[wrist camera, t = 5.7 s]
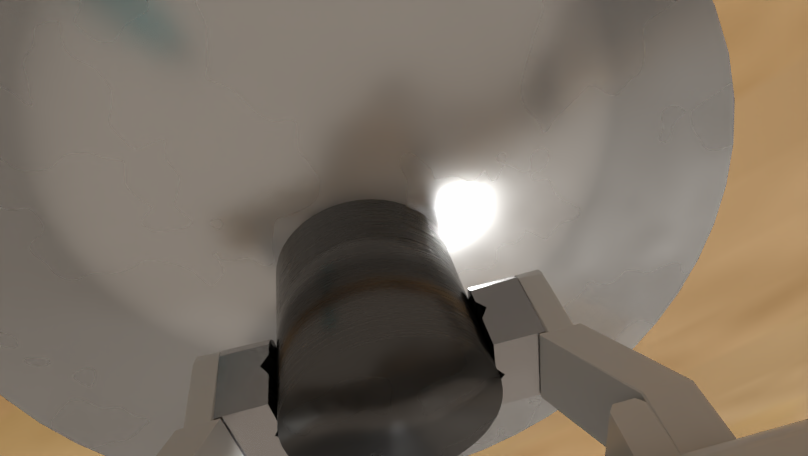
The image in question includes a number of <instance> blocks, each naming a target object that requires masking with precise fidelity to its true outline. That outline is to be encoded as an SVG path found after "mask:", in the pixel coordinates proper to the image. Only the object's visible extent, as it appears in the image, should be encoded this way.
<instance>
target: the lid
mask: <svg viewBox="0 0 808 456" xmlns="http://www.w3.org/2000/svg"><path fill="white" fill-rule="evenodd" d="M733 135H734V91H733V83H732V75H731V67H730V59H729V52H728V49H727V46H726V42H725V39H724V35H723V32H722V29H721V25H720V22H719V18H718V15H717V12H716V8H715V5H714V3H713V1H712V0H0V395H2V396H3V397H4V398H5V399H7V400H8V401H10V402H11V403H12V404H14V405H15V406H17V407H18V408H19V409H21V410H22V411H24V412H25V413H27V414H28V415H29V416H31V417H32V418H34V419H35V420H36V421H38V422H39V423H41V424H43V425H45V426H46V427H48V428H50V429H52V430H54V431H55V432H57V433H59V434H61V435H63V436H64V437H66V438H68V439H70V440H72V441H73V442H75V443H77V444H79V445H82V446H84V447H86V448H89V449H91V450H93V451H96V452H98V453H100V454H103V455H105V456H156V455H157V454H158V453H159V451H160V450H161V449H162V447H163V446H164V445H165V444H166V442H167V441H168V440H169V438H170V437H171V436H172V434H173V433H174V432H175V431H176V430H178V429H181V428H183V427H184V421H185V414H186V407H187V401H188V394H189V387H190V381H191V374H192V367H193V363H194V362H195V360H196V358H197V357H199V356H204V355H208V354H212V353H217V352H221V351H223V350H227V349H232V348H236V347H240V346H244V345H249V344H253V343H257V342H262V341H266V340H274V342H275V344H276V346H277V430H278V437H279V440H280V443H281V445H282V447H283V449H284V450H285V452H286V454H287V455H288V456H468V455H471V454H473V453H476V452H478V451H481V450H484V449H486V448H488V447H490V446H492V445H494V444H496V443H499V442H501V441H503V440H505V439H507V438H509V437H511V436H514V435H516V434H518V433H519V432H521V431H523V430H525V429H526V428H528V427H530V426H532V425H534V424H535V423H537V422H539V421H541V420H543V419H544V418H546V417H548V416H549V415H551V414H552V413H554V412H555V411H557V409H556V408H555V407H554V406H552V405H551V404H550V403H548V402H547V401H546V400H544V399H543V398H542V397H541V395H538V396H533V397H529V398H525V399H521V400H517V401H513V402H509V403H504V404H501V403H502V399H503V386H502V381H501V378H500V376H499V373H498V371H497V368H496V366H495V363H494V361H493V358H492V356H491V354H490V351H489V349H488V346H487V344H486V341H485V339H484V337H483V334H482V332H481V329H480V327H479V324H478V322H477V319H476V317H475V315H474V312H473V310H472V307H471V305H470V302H469V300H468V288H470V287H474V286H478V285H481V284H485V283H489V282H493V281H496V280H500V279H504V278H508V277H511V276H515V275H519V274H522V273H526V272H530V271H533V270H537V269H538V270H540V271H541V272H542V273H543V275H544V276H545V278H546V280H547V281H548V283H549V284H550V286H551V288H552V289H553V291H554V293H555V294H556V296H557V298H558V299H559V301H560V303H561V304H562V306H563V308H564V309H565V311H566V312H567V314H568V316H569V317H570V319H571V321H572V322H573V324H574V325H575V324H580V323H582V324H584V325H586V326H588V327H590V328H591V329H593V330H595V331H597V332H599V333H601V334H603V335H605V336H607V337H609V338H611V339H613V340H615V341H617V342H619V343H621V344H623V345H624V346H626V347H628V348H630V349H633V348H634V347H635V346H636V345H637V344H638V342H639V341H640V340H641V339H642V338H643V337H644V336H645V335H646V334H647V332H648V331H649V330H650V329H651V328H652V327H653V326H654V325H655V324H656V322H657V321H658V320H659V318H660V317H661V316H662V314H663V313H664V311H665V310H666V309H667V307H668V306H669V305H670V303H671V302H672V301H673V299H674V298H675V297H676V295H677V294H678V292H679V291H680V289H681V287H682V286H683V284H684V282H685V281H686V279H687V277H688V276H689V274H690V272H691V270H692V269H693V267H694V265H695V264H696V262H697V260H698V258H699V256H700V254H701V252H702V249H703V247H704V245H705V243H706V241H707V238H708V236H709V234H710V232H711V229H712V227H713V225H714V222H715V219H716V216H717V213H718V209H719V206H720V203H721V200H722V197H723V193H724V190H725V187H726V183H727V177H728V171H729V165H730V159H731V154H732V148H733Z"/></svg>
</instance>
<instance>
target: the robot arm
mask: <svg viewBox="0 0 808 456" xmlns="http://www.w3.org/2000/svg"><path fill="white" fill-rule="evenodd" d="M468 300H469V302H470V305H471V307H472V310H473V312H474V315H475V317H476V319H477V322H478V324H479V327H480V329H481V332H482V334H483V337H484V339H485V341H486V344H487V346H488V349H489V351H490V354H491V356H492V358H493V361H494V363H495V366H496V368H497V371H498V373H499V376H500V378H501V381H502V386H503V399H502V403H501V404H504V403H509V402H513V401H517V400H521V399H525V398H529V397H533V396H538V395H541V397H542V398H543V399H544V400H546V401H547V402H548V403H550V404H551V405H552V406H554V407H555V408H556V409H557V410H559V411H560V412H561V413H563V414H564V415H565V416H566V417H568V418H569V419H570V420H572V421H573V422H574V423H576V424H577V425H578V426H579V427H581V428H582V429H583V430H585V431H586V432H587V433H589V434H590V435H591V436H592V437H594V438H595V439H596V440H598V441H599V442H600V443H601V444H603V445H604V446H605V447H606V452H605V456H808V419H806V420H802V421H799V422H795V423H791V424H788V425H784V426H781V427H777V428H773V429H770V430H766V431H763V432H759V433H756V434H752V435H748V436H745V437H741V438H738V439H736V437H735V436H734V435H733V433H732V432H731V431H730V429H729V428H728V427H727V425H726V424H725V423H724V421H723V420H722V419H721V417H720V416H719V415H718V413H717V412H716V411H715V409H714V408H713V407H712V406H711V404H710V403H709V402H708V400H707V399H706V398H705V396H704V395H703V394H702V392H701V391H700V390H699V388H698V387H697V386H696V384H695V383H694V382H693V381H692V380H690V379H689V378H687V377H685V376H683V375H681V374H679V373H677V372H675V371H673V370H671V369H669V368H667V367H665V366H663V365H661V364H659V363H657V362H656V361H654V360H652V359H650V358H648V357H646V356H644V355H642V354H640V353H638V352H636V351H634V350H632V349H630V348H628V347H626V346H624V345H623V344H621V343H619V342H617V341H615V340H613V339H611V338H609V337H607V336H605V335H603V334H601V333H599V332H597V331H595V330H593V329H591V328H590V327H588V326H586V325H584V324H582V323H580V324H575V325H574V324H573V322H572V321H571V319H570V317H569V316H568V314H567V312H566V311H565V309H564V308H563V306H562V304H561V303H560V301H559V299H558V298H557V296H556V294H555V293H554V291H553V289H552V288H551V286H550V284H549V283H548V281H547V280H546V278H545V276H544V275H543V273H542V272H541V271H540V270H538V269H537V270H533V271H530V272H526V273H522V274H519V275H515V276H511V277H508V278H504V279H500V280H496V281H493V282H489V283H485V284H481V285H478V286H474V287H470V288H468ZM156 456H288V455H287V454H286V452H285V450H284V449H283V447H282V445H281V443H280V440H279V437H278V430H277V346H276V344H275V342H274V340H266V341H262V342H257V343H253V344H249V345H244V346H240V347H236V348H232V349H227V350H223V351H221V352H217V353H212V354H208V355H204V356H199V357H197V358H196V360H195V362H194V363H193V367H192V374H191V381H190V387H189V394H188V401H187V407H186V414H185V421H184V427H183V428H181V429H178V430H176V431H175V432H174V433H173V434H172V436H171V437H170V438H169V440H168V441H167V442H166V444H165V445H164V446H163V447H162V449H161V450H160V451H159V453H158V454H157V455H156Z"/></svg>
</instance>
